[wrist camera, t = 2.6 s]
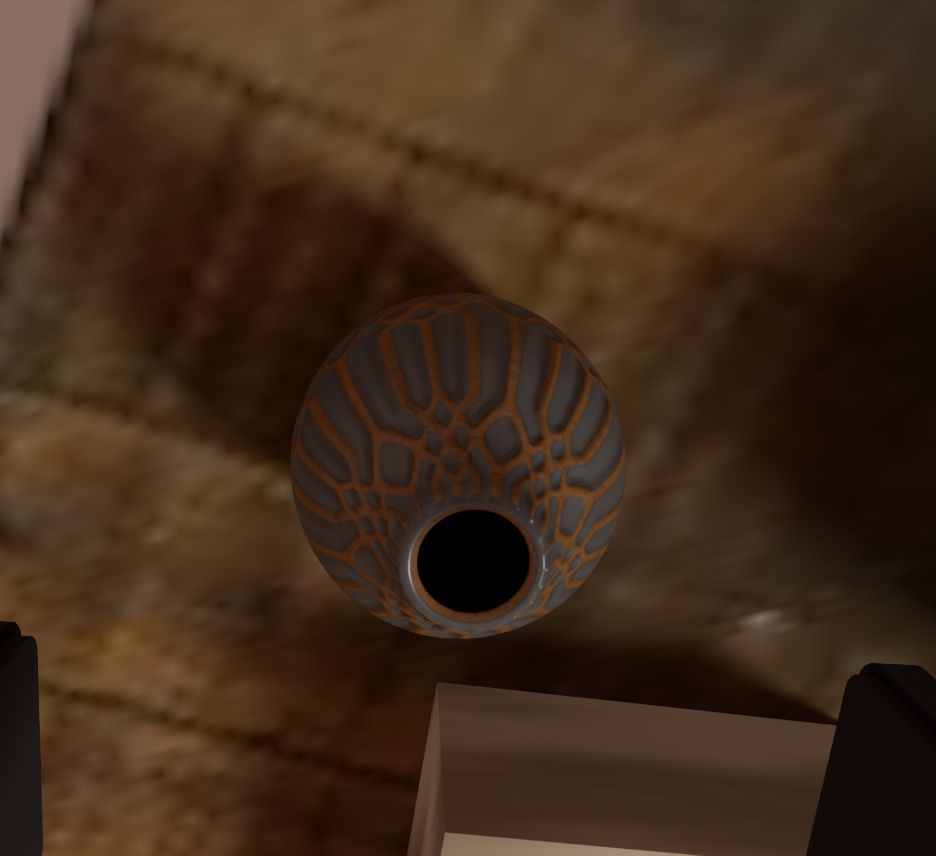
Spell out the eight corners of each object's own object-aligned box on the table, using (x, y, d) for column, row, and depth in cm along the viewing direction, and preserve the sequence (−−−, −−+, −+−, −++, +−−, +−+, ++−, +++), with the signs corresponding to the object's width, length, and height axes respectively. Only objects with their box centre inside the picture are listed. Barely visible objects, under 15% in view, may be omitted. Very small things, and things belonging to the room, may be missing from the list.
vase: (625, 320, 22) (757, 419, 14) (537, 568, 24) (607, 791, 15) (351, 238, 21) (311, 290, 13) (282, 503, 23) (206, 703, 14)
